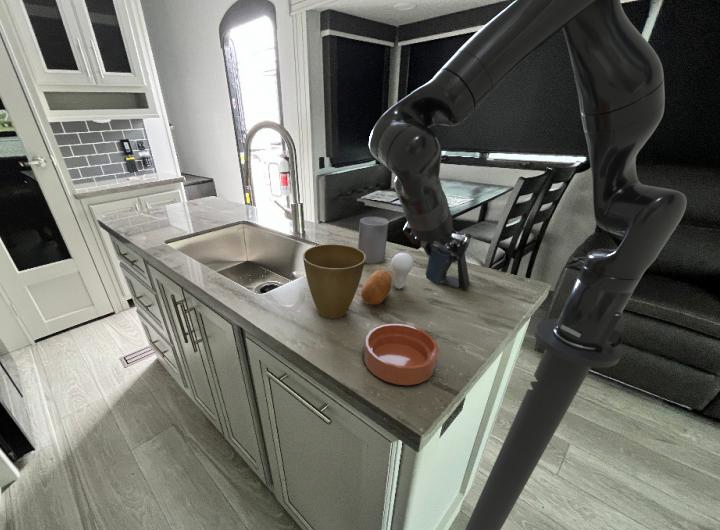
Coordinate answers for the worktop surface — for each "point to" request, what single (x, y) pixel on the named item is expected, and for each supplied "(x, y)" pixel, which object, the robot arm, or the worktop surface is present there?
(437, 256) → the vaping device
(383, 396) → the worktop surface
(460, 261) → the phone stand
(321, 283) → the plant pot
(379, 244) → the pillar candle
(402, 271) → the lightbulb
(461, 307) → the worktop surface
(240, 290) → the worktop surface
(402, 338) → the bowl
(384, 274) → the potato
